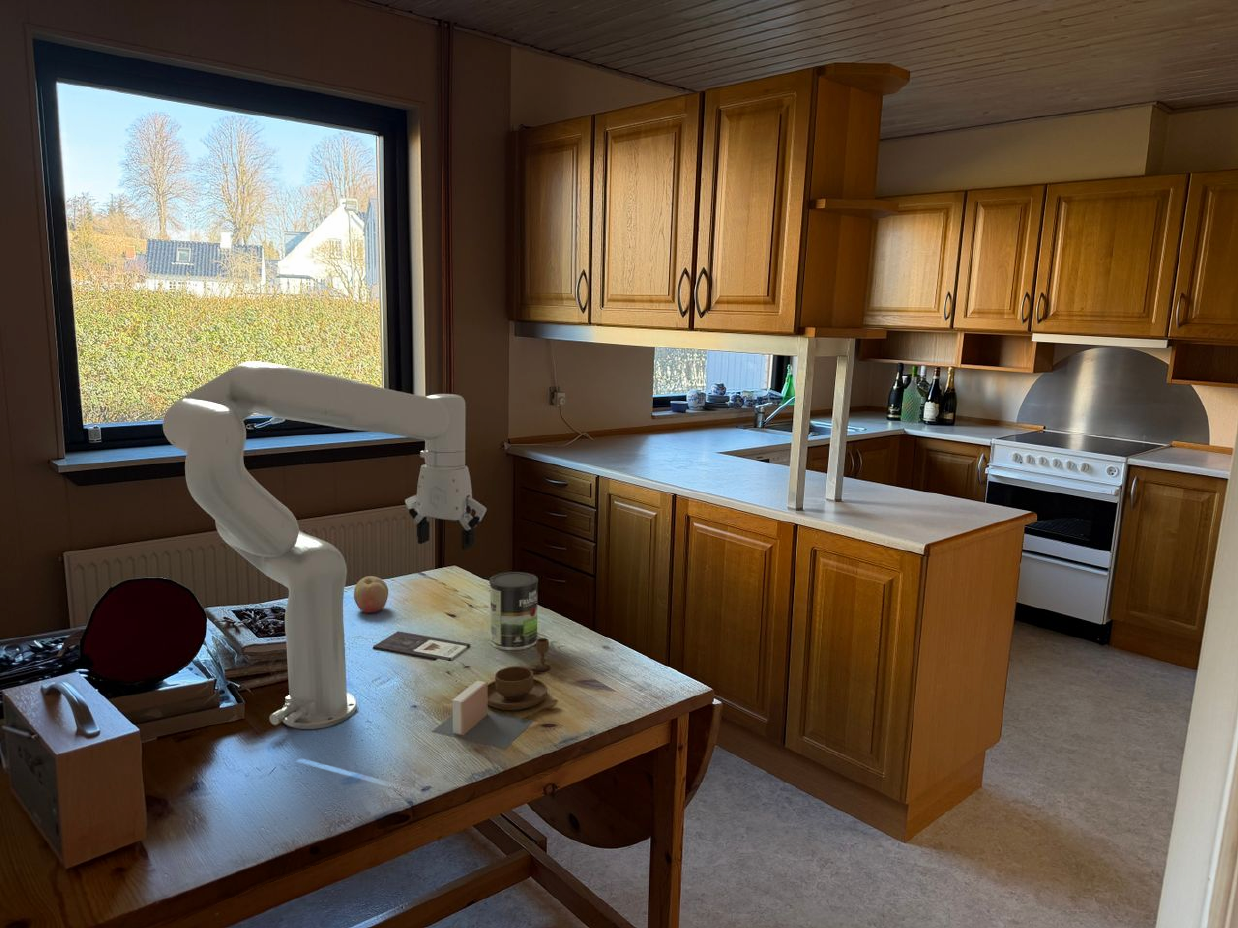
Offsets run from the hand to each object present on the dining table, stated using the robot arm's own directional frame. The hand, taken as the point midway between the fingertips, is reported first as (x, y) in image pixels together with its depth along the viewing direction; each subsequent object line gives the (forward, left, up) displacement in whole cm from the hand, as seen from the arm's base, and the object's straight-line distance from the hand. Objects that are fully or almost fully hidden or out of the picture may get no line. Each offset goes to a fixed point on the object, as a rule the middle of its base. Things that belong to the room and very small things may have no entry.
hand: (445, 545), depth 161 cm
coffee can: (+16, -6, -25) cm, 31 cm away
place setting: (-4, -21, -25) cm, 33 cm away
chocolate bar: (+5, +10, -26) cm, 28 cm away
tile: (-19, -17, -25) cm, 36 cm away
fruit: (+18, +33, -25) cm, 45 cm away
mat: (-19, -20, -25) cm, 37 cm away
